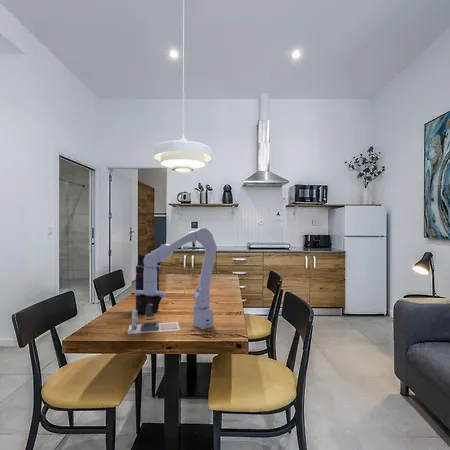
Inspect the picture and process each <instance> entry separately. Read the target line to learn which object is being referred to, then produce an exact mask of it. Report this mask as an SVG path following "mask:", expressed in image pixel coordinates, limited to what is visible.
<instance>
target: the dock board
mask: <svg viewBox="0 0 450 450" xmlns="http://www.w3.org/2000/svg"><path fill="white" fill-rule="evenodd" d="M172 323H176V324H177V329H164V330H161V324H172ZM176 331H177V332H178V331H181V329H180V324H179V322H178V321H172V322H171V321H170V322H159V321H158V320H157V321H143V322H141V323H140V324H139V323H138V324H137V329H132V324H129V327H128V329H127V335H130V334H131V335H132V334H147V333H161V332H163V333H164V332H176Z"/></svg>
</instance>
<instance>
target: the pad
mask: <svg viewBox="0 0 450 450" xmlns="http://www.w3.org/2000/svg"><path fill="white" fill-rule="evenodd" d="M164 329H177V324H176V323H172V324H161V330H164Z"/></svg>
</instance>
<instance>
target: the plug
mask: <svg viewBox="0 0 450 450" xmlns="http://www.w3.org/2000/svg"><path fill="white" fill-rule="evenodd" d="M144 319H145V321H153V320H155V319H156V313H155V314H153V304H146V314H144Z"/></svg>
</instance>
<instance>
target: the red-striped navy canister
mask: <svg viewBox="0 0 450 450" xmlns="http://www.w3.org/2000/svg"><path fill="white" fill-rule="evenodd" d="M147 254H148V253H144V254H142V253H141V254H139V255H138V262H137V265H136V266H135V273H136V274H135V291H136V290H143V286H144V284H143V283H144V282H143V276H144V273H143V272H144V263H143V260H144V257H145V256H146V255H147ZM156 270H157V291H160V273H159V272H160V265H158V264H157V265H156ZM138 297H140V295H135V310H138V313H142V314H143V315H146V313H144V312H143V308H142V305H141V303H140V301H139V299H138ZM153 297H154V296H149V299H148V304H152V300H151V298H153ZM159 309H160V304H159V305H158V309H157V312H158V311H159Z"/></svg>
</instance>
